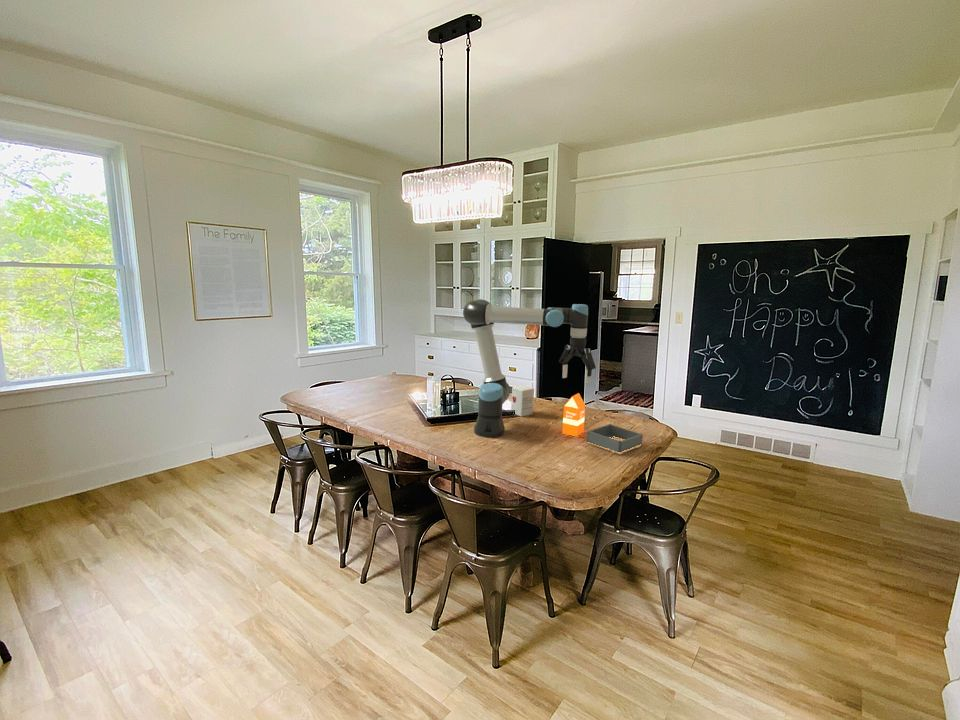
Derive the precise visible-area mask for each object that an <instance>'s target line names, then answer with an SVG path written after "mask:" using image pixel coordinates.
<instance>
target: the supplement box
mask: <svg viewBox="0 0 960 720" xmlns="http://www.w3.org/2000/svg"><path fill="white" fill-rule="evenodd" d="M534 394H535V388H533V387H530V386H527V385H524V384H522V385H516V386H512V388H511V403H510V404H511V406H510V410H511V409H513V410H515V414H514V415H517V417H520V418H521V417H525V416H530V415H531V416H532V415H533V413H534V412H533V411H534Z"/></svg>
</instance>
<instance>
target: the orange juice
mask: <svg viewBox="0 0 960 720" xmlns="http://www.w3.org/2000/svg"><path fill="white" fill-rule="evenodd" d="M585 415H586V404H585V402H584V400H583V398H582V396H581V394H580V393H579V392H578V393H576V394H574V395H572V396H571V397H570V398H569V400H568V401H567V402H566V403H565V404H564V406H563V415H562V416H563V418H562V429H561V430H562V433H563V434H567V435H572V436H578V435H579V434H581V433H582V432H583V433H584V430H585V429H584V427H585V417H586V416H585ZM562 433H561V434H562ZM563 434H562V435H563ZM567 435H566V436H567ZM581 435H582V434H581ZM578 437H579V436H578Z"/></svg>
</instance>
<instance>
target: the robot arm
mask: <svg viewBox="0 0 960 720" xmlns="http://www.w3.org/2000/svg"><path fill="white" fill-rule="evenodd" d="M463 307H464V308H463V310H462V314H463V318H464V320H465V322H467V323H468V324H470V327H471V330H473V331H474V332H475V337H476V340H477V345H478V346H477V347H478V350H479V354H480V355H479V356H480V358H481V363H482V368H483V372H484V378H483V381H482V382H483V383H482V384H481V385H480V386H479V388H478V404H477V405H478V406H477V407H478V408H477V410H478V412H477V415H478V416H477V418H476V421H475V425H474V426H473V433H474V434H475V435H478V436H480V437H485V438H497V437H502V436H504V435H505V432H506V427H505V424H504V421H503V405H504V403H505V402H506V401H507V400H508V398H509V397H510V396H511V395H510V394H511V387H510V385H509V383H508V382H507V379H506V376H505V375H504V374H503V373H502V369H501V364H500V360H499V355H498V351H497V345H496V341H495V335H494V331H493V327H494V325H495V323H496V324H512V325H513V324H514V325H531V326H533V325H534V326H535V325H536V326H547V327H548V326H549V327H552V328H558V327H560V326H561V325H563V324H564V325H565V324H568V325H570V339H569V344H566V345H564V349H563V351H562V353H561V356H560V357H559V360H558V363H560V364H561V371H562V377H561V378H562V379H566V378H568V368H569V367H568V366H569V365H568V363H569V361H571V359H572V358H573V357H579V358H580V359H581V360H582V363H583V364H584V366H585V368H586V369H585V375H584V384H590V380H591V376H592V371H593V370H594V369H596V364H595V361H594V359H593V355H592V349H591V348H586V345H587V333H588V321H589V320H588V319H589V306H588V305H587V304H584V303H583V304H582V303H581V304H580V303H578V304H577V303H573V304H572V306H571V307H570V308H569V307H555V306H552V307H547V308H531V307H515V306H514V307H512V306H510V307H509V306H494V305H493V304H492V303H490V302H489V301H487V300H485V299H481V298H480V299H476V300H472V301H468V302H467V303H466V305H464V306H463Z"/></svg>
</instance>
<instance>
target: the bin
mask: <svg viewBox="0 0 960 720" xmlns="http://www.w3.org/2000/svg"><path fill="white" fill-rule="evenodd" d="M643 435H644V434H642V433H639V432H636V431H633V430H630V429H627V428H623V427H621V426H618V425H614V424H612V423H610V424H609V423H608V424H606V425H602V426H600V427H597V428H592V429H590V430H587V435H586V437H587V438H586V443H587V442H590V443H593V444H596V445H599V446H602V447H605V448H609V449H611V450H614V451H617V452H622V451H624V450H627V449H630V448H632V447H635V446H637V445H640V444H642V443H643ZM613 436H615V437H619V438H622V439H625V440H623V441H617V440H614V439H611V438H612V437H613ZM609 437H611V438H609ZM613 438H614V437H613Z"/></svg>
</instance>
